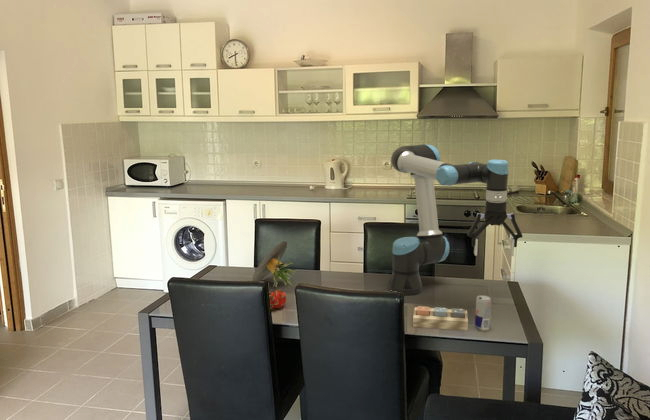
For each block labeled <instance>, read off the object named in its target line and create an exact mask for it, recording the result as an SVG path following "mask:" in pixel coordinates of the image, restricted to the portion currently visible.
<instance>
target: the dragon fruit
mask: <svg viewBox="0 0 650 420" xmlns="http://www.w3.org/2000/svg"><path fill="white" fill-rule="evenodd" d="M268 293H269V295H270V304H271V308H270V309H272V310H273V309H274V310H276V309H280V310H281V309H283V307H285V304H286V303H287V300H288V298H287V296H286V292H285V291H282V290H281V289H276V290H275V289H274V290H272V291H269V292H268Z"/></svg>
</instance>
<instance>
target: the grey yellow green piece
mask: <svg viewBox="0 0 650 420" xmlns="http://www.w3.org/2000/svg"><path fill="white" fill-rule="evenodd" d="M287 246H288V242H287V241H285V240H284V241H281V242H279V243H278V244H276V245H275V246H274V247H273V248H272V249H271V250H270V251H269V252H268V253H267V254H266V255H265V256H264V258H263V259H262V260H261V261H260V263H259V264H258V265H257V268H256V269H255V271H254V272H253V273H254V274H253V275H252V279H251V282H252V281H260V282H262V281H263V280H264V279H265V278H267V276H268V275H269V274H270V273H272V274H273V277H272V278H273V285H272V286H273V287H272V288H274V287H275V288H276V289H277V288H278V286H277V285H278V283H279V281H278V278H279V279H280V280H281V281H282V282H283V284H284V285H285V286H287V284H290V285H291V286H292V285H293V284H292V280H291V279H290V278H292V276H290V275H292V274H293V275H295V273H297V270H298V269H295V268H291V269H290V268H288V269H286V267H287V266H289V265H292V264H293V262H291V260H289V261H288V262H287V261H286V262H285V263H283V262H281V259H282V257H283V256H284V254H285V252H286V249H287V248H288V247H287ZM261 280H262V281H261Z"/></svg>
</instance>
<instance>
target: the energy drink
mask: <svg viewBox="0 0 650 420" xmlns="http://www.w3.org/2000/svg"><path fill="white" fill-rule="evenodd" d="M491 312H492V299H491V297H490V296H489V295H483V294H482V295H481V294H480V295H477V296H476V299H475V317H474V318H475V319H474V322H475V323H474V324H475V325H474V328H475V329H476V330H477V331H481V332H482V331H483V332H487V331H490V329H491Z"/></svg>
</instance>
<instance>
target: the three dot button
mask: <svg viewBox="0 0 650 420" xmlns="http://www.w3.org/2000/svg"><path fill="white" fill-rule="evenodd" d="M434 308H435V310H434V316H437V317H446V316H447V309H448V308H447V307H437V306H435V307H434Z"/></svg>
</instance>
